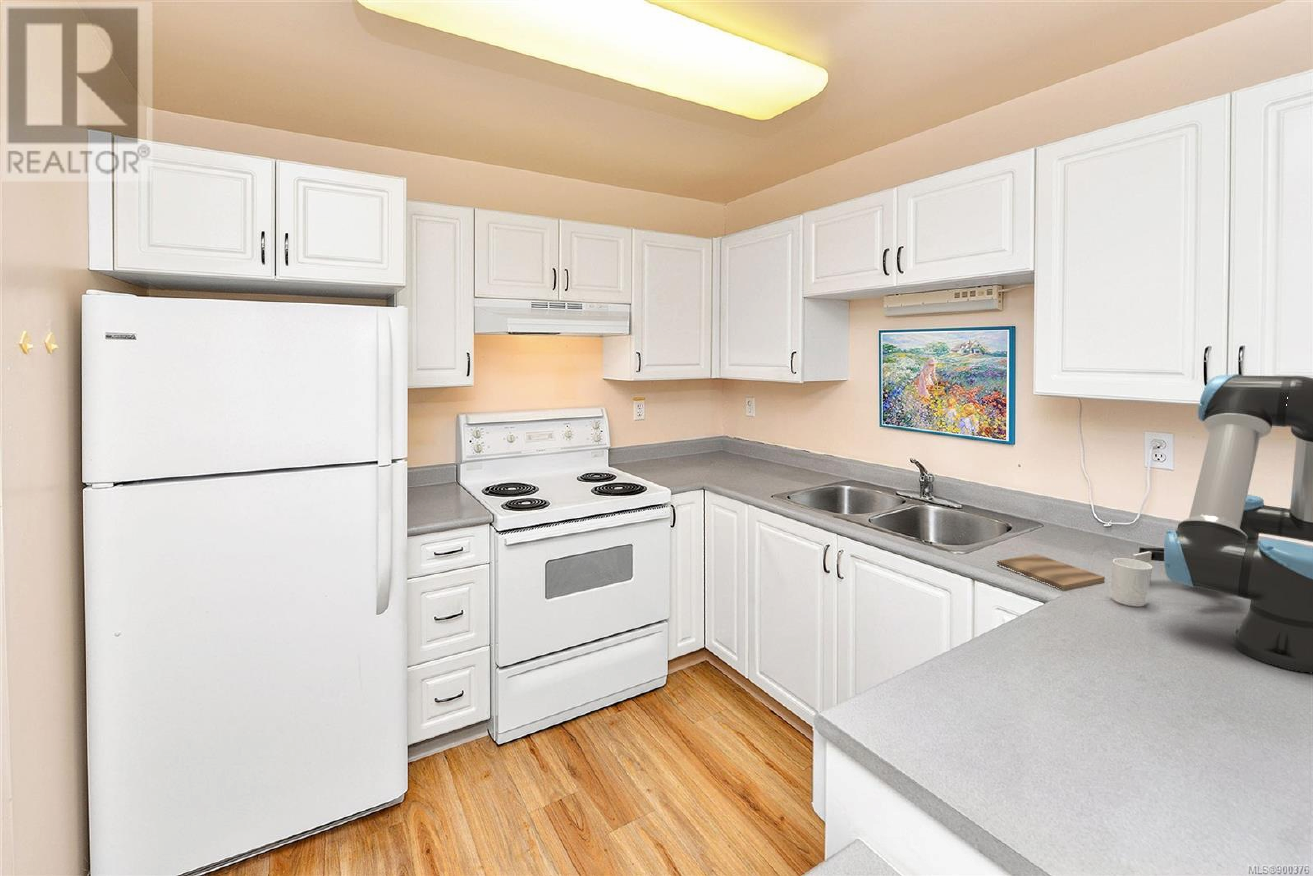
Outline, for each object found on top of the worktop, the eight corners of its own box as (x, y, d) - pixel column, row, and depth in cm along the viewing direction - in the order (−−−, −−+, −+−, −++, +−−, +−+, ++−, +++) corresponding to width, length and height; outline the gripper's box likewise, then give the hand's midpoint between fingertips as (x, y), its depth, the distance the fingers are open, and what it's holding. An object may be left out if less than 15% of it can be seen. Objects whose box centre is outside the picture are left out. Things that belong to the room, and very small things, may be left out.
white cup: (1155, 609, 148) (1160, 570, 146) (1118, 606, 149) (1123, 568, 148) (1136, 596, 155) (1141, 559, 154) (1102, 594, 157) (1106, 557, 156)
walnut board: (1104, 582, 165) (1104, 577, 165) (1063, 590, 159) (1063, 585, 159) (1035, 558, 183) (1036, 554, 183) (996, 565, 178) (997, 560, 178)
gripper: (1273, 587, 149) (1220, 602, 142) (1160, 555, 172) (1109, 566, 165) (1277, 558, 148) (1224, 571, 141) (1163, 530, 171) (1112, 540, 164)
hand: (1162, 568), depth 153 cm, fingers open, 13 cm apart
